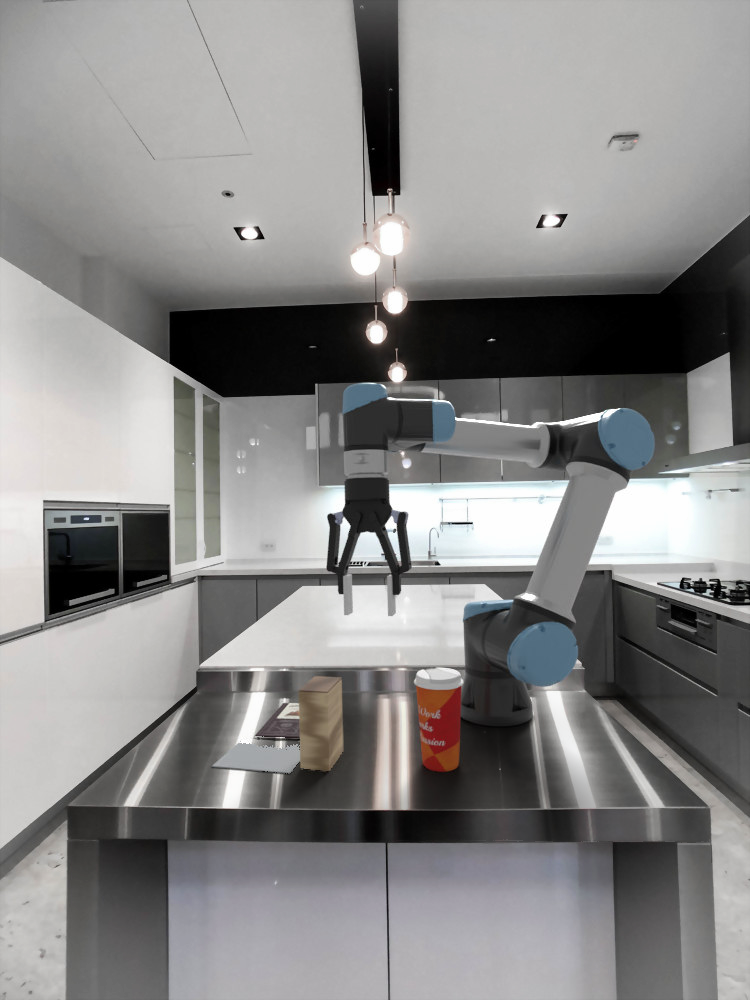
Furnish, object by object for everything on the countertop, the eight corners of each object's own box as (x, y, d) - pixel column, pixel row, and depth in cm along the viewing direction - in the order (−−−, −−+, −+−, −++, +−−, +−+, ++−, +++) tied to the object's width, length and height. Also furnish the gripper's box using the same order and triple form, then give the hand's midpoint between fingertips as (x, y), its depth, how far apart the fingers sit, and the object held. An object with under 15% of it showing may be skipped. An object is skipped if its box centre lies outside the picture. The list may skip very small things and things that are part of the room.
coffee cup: (408, 758, 98) (405, 670, 98) (450, 749, 101) (448, 664, 101) (429, 779, 90) (427, 683, 90) (475, 769, 93) (473, 676, 93)
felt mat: (315, 743, 105) (314, 742, 105) (290, 773, 93) (290, 772, 93) (244, 738, 108) (244, 737, 108) (212, 766, 97) (212, 765, 97)
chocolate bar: (254, 735, 108) (283, 702, 126) (255, 740, 108) (283, 707, 126) (301, 736, 107) (323, 703, 125) (301, 741, 107) (323, 708, 125)
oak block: (343, 751, 102) (341, 677, 102) (329, 771, 94) (327, 691, 94) (316, 749, 103) (314, 676, 103) (300, 769, 95) (298, 690, 95)
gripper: (303, 478, 95) (306, 617, 95) (421, 473, 91) (425, 619, 91) (318, 480, 103) (321, 609, 103) (428, 476, 98) (431, 611, 98)
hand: (370, 613), depth 97 cm, fingers open, 7 cm apart
